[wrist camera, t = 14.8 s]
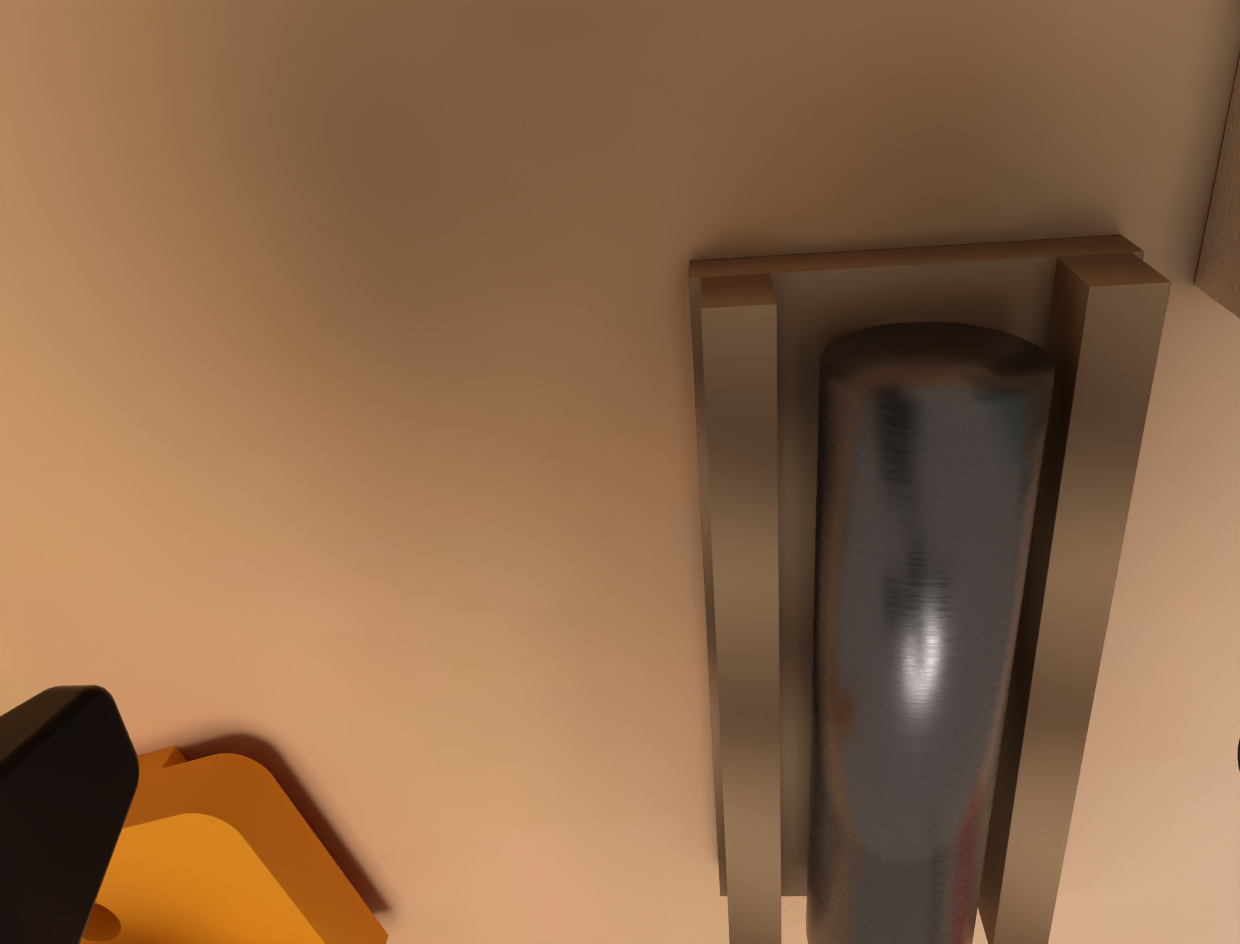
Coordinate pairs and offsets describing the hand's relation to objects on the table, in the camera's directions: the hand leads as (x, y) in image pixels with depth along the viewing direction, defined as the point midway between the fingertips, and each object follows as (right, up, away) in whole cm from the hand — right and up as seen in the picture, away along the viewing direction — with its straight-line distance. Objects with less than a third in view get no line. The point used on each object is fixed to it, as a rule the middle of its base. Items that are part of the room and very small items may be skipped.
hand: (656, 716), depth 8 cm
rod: (+5, -2, +13) cm, 14 cm away
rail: (+5, -1, +14) cm, 15 cm away
